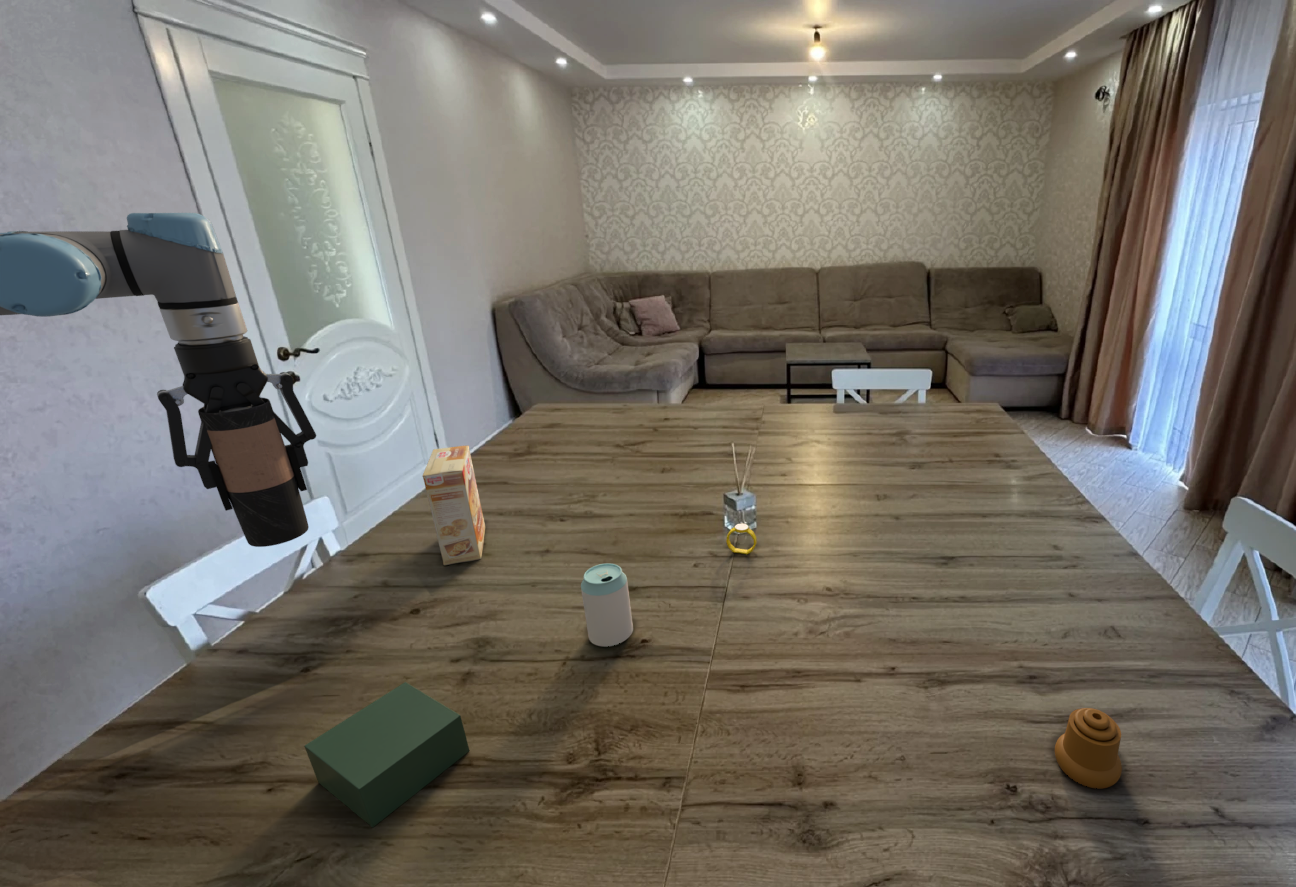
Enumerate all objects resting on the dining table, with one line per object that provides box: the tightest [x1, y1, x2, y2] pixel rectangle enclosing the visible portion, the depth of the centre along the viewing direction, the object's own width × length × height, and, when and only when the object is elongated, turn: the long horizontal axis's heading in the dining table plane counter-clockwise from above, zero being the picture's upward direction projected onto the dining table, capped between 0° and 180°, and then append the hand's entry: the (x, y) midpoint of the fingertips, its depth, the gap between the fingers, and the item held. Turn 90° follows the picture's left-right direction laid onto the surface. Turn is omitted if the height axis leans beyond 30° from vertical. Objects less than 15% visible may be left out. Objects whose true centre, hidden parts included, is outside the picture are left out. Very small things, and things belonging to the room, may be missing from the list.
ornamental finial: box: [1054, 707, 1123, 790], centre depth 74 cm, size 8×8×8 cm
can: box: [580, 562, 634, 648], centre depth 97 cm, size 7×7×12 cm
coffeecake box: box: [421, 445, 486, 566], centre depth 123 cm, size 15×7×20 cm, turn 22°
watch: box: [725, 523, 758, 555], centre depth 122 cm, size 6×3×6 cm, turn 82°
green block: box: [303, 681, 470, 828], centre depth 75 cm, size 12×12×6 cm
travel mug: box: [197, 396, 310, 548], centre depth 86 cm, size 8×8×20 cm
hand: (266, 497), depth 87 cm, fingers closed on travel mug, 8 cm apart
